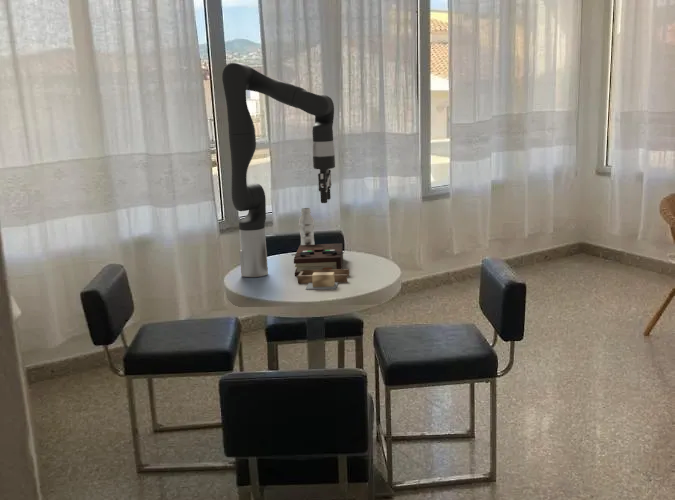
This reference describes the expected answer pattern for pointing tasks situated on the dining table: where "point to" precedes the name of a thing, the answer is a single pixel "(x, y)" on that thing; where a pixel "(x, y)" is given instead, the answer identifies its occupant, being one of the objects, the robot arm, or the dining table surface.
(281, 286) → the dining table surface
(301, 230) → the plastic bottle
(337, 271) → the shelf bay
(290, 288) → the dining table surface
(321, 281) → the block
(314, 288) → the rubber pad
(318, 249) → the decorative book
